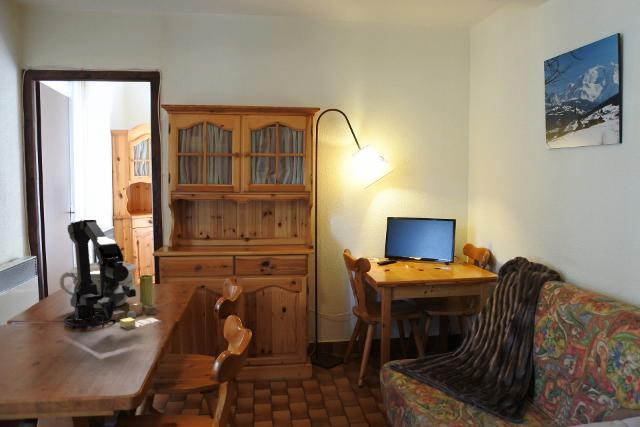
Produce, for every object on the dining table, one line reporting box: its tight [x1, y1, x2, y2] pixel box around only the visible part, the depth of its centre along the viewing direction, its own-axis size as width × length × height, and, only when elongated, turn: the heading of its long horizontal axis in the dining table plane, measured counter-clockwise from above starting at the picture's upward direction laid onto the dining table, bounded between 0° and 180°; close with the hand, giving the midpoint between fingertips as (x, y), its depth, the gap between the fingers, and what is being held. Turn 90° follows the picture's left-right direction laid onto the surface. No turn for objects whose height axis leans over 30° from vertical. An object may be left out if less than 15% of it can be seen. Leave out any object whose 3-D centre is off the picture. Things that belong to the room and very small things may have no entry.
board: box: [118, 317, 161, 331], centre depth 192 cm, size 14×7×1 cm, turn 139°
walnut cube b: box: [143, 304, 157, 316], centre depth 206 cm, size 4×4×4 cm
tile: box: [119, 317, 136, 330], centre depth 188 cm, size 4×4×2 cm
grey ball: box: [126, 311, 137, 319], centre depth 200 cm, size 4×4×4 cm
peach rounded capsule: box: [128, 301, 143, 316], centre depth 205 cm, size 5×5×5 cm
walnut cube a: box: [109, 309, 126, 322], centre depth 197 cm, size 4×4×4 cm
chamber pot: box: [59, 261, 138, 310], centre depth 220 cm, size 28×28×21 cm
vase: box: [139, 274, 155, 308], centre depth 216 cm, size 6×6×14 cm
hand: (109, 318), depth 182 cm, fingers closed
